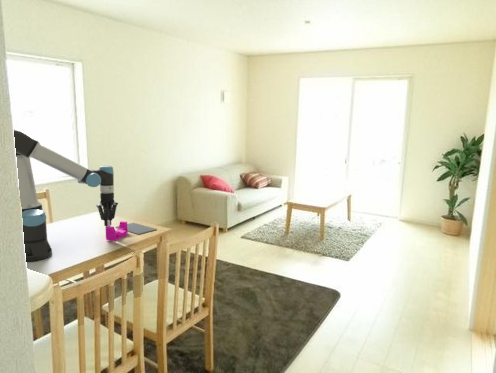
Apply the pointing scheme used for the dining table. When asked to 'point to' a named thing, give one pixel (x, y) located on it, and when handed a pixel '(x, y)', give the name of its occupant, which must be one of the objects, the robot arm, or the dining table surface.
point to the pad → (138, 228)
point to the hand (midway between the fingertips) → (108, 230)
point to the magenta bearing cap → (117, 234)
